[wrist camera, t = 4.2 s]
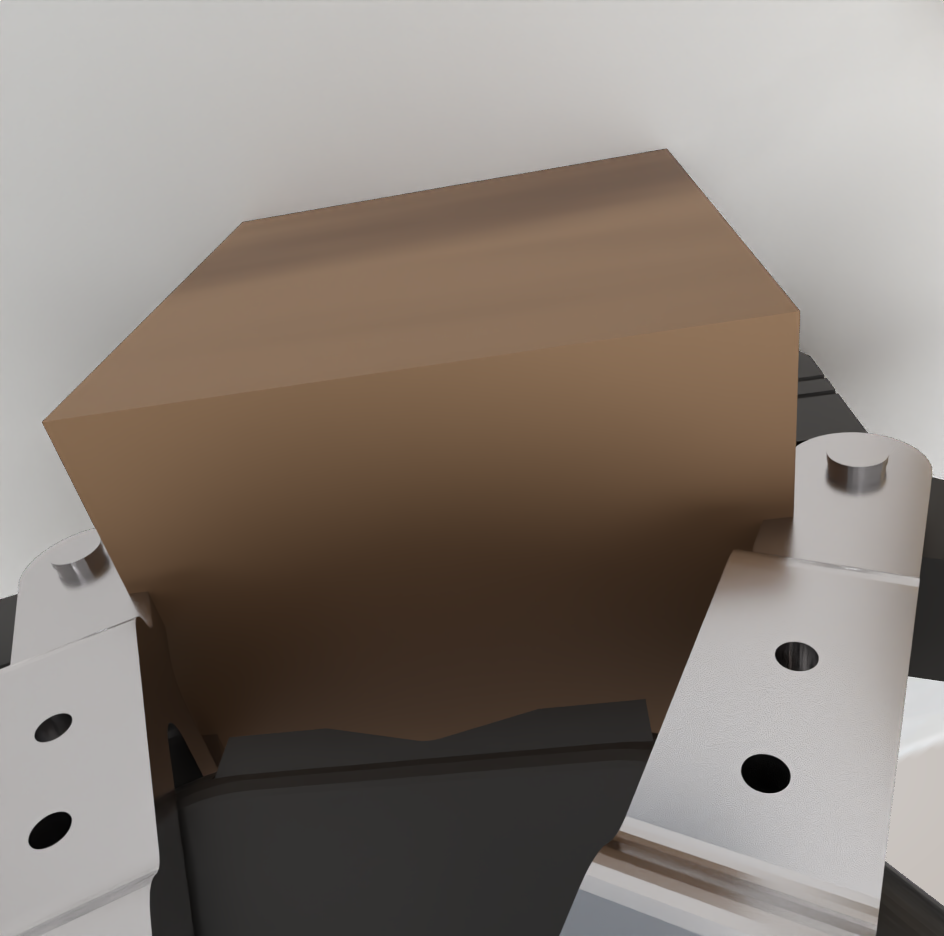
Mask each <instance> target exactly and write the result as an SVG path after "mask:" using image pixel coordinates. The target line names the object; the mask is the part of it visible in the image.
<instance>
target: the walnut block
mask: <svg viewBox="0 0 944 936" xmlns="http://www.w3.org/2000/svg"><path fill="white" fill-rule="evenodd" d="M799 327H800V311H799V309H798V308H797V307H796V306H795V304H794V303H793V302H792V301H791V300H790V298H789V297H788V296H787V295H786V293H785V292H784V291H783V290H782V289H781V287H780V286H779V285H778V284H777V282H776V281H775V280H774V279H773V278H772V276H771V275H770V274H769V273H768V271H767V270H766V269H765V268H764V267H763V265H762V264H761V263H760V262H759V260H758V259H757V258H756V257H755V256H754V254H753V253H752V252H751V251H750V249H749V248H748V247H747V246H746V245H745V243H744V242H743V241H742V240H741V238H740V237H739V236H738V235H737V234H736V232H735V231H734V230H733V229H732V227H731V226H730V225H729V224H728V223H727V221H726V220H725V219H724V218H723V216H722V215H721V214H720V213H719V212H718V210H717V209H716V208H715V207H714V206H713V204H712V203H711V202H710V201H709V199H708V198H707V197H706V196H705V195H704V193H703V192H702V191H701V190H700V188H699V187H698V186H697V185H696V184H695V182H694V181H693V180H692V179H691V177H690V176H689V175H688V174H687V173H686V171H685V170H684V169H683V168H682V166H681V165H680V164H679V163H678V162H677V160H676V159H675V158H674V157H673V155H672V154H671V153H670V152H669V151H668V149H662V150H656V151H651V152H645V153H639V154H633V155H627V156H622V157H616V158H610V159H604V160H599V161H593V162H587V163H581V164H575V165H570V166H564V167H558V168H552V169H547V170H541V171H535V172H529V173H523V174H518V175H512V176H506V177H500V178H495V179H489V180H483V181H477V182H471V183H466V184H460V185H454V186H448V187H443V188H437V189H431V190H425V191H419V192H414V193H408V194H402V195H396V196H391V197H385V198H379V199H373V200H367V201H362V202H356V203H350V204H344V205H339V206H333V207H327V208H321V209H315V210H310V211H304V212H298V213H292V214H287V215H281V216H275V217H269V218H263V219H258V220H252V221H246V222H242V223H241V224H240V225H239V226H238V227H237V228H236V229H235V230H234V231H233V232H232V233H231V234H230V235H229V236H228V237H227V238H226V239H225V240H224V241H223V242H222V243H221V244H220V245H219V246H218V247H217V248H216V249H215V250H214V251H213V252H212V253H211V254H210V255H209V256H208V257H207V258H206V259H205V260H204V261H203V262H202V263H201V264H200V265H199V266H198V267H197V268H196V269H195V270H194V271H193V272H192V273H191V274H190V275H189V276H188V277H187V278H186V279H185V280H184V281H183V282H182V283H181V284H180V285H179V286H178V287H177V288H176V289H175V290H174V291H173V292H172V293H171V294H170V295H169V296H168V297H167V298H166V299H165V300H164V301H163V302H162V303H161V304H160V305H159V306H158V307H157V308H156V309H155V310H154V311H153V312H152V313H151V314H150V315H149V316H148V317H147V318H146V319H145V320H144V321H143V322H142V323H141V324H140V325H139V326H138V327H137V328H136V329H135V330H134V331H133V332H132V333H131V334H130V335H129V336H128V337H127V338H126V339H125V340H124V341H123V342H122V343H121V344H120V345H119V346H118V347H117V348H116V349H115V350H114V351H113V352H112V353H111V354H110V355H109V356H108V357H107V358H106V359H105V360H104V361H103V362H102V363H101V364H100V365H99V366H98V367H97V368H96V369H95V370H94V371H93V372H92V373H91V374H90V375H89V376H88V377H87V378H86V379H85V380H84V381H83V382H82V383H81V384H80V385H79V386H78V387H77V388H76V389H75V390H74V391H73V392H72V393H71V394H70V395H69V396H68V397H67V398H66V399H65V400H64V401H63V402H62V403H61V404H60V405H59V406H58V407H57V408H56V409H55V410H54V411H53V412H52V413H51V414H50V415H49V416H48V417H47V418H46V419H44V420H43V421H42V423H43V425H44V427H45V429H46V431H47V433H48V435H49V437H50V439H51V441H52V443H53V445H54V447H55V449H56V451H57V453H58V455H59V457H60V459H61V461H62V463H63V465H64V467H65V469H66V471H67V473H68V475H69V477H70V479H71V481H72V483H73V485H74V487H75V489H76V491H77V493H78V495H79V497H80V499H81V501H82V503H83V505H84V507H85V509H86V511H87V513H88V515H89V517H90V519H91V521H92V523H93V525H94V527H95V529H96V531H97V532H98V534H99V536H100V538H101V540H102V542H103V544H104V546H105V548H106V550H107V552H108V554H109V556H110V558H111V560H112V562H113V564H114V566H115V568H116V570H117V572H118V574H119V576H120V578H121V580H122V582H123V584H124V586H125V588H126V590H127V592H128V594H130V593H138V592H147V591H148V592H149V594H150V596H151V598H152V600H153V602H154V605H155V607H156V609H157V611H158V613H159V615H160V617H161V619H162V621H163V623H164V625H165V627H166V633H167V640H168V646H169V652H170V659H171V664H172V668H173V671H174V675H175V678H176V681H177V684H178V687H179V689H180V692H181V694H182V697H183V699H184V701H185V703H186V706H187V708H188V710H189V712H190V714H191V716H192V718H193V720H194V722H195V724H196V726H197V728H198V730H199V732H200V734H201V735H211V734H218V736H219V739H220V741H221V743H222V745H223V747H224V749H225V748H226V745H227V742H228V739H229V737H237V736H248V735H259V734H270V733H281V732H292V731H303V730H313V729H324V728H328V729H336V730H343V731H350V732H358V733H365V734H373V735H380V736H387V737H395V738H402V739H410V740H417V741H430V740H436V739H440V738H443V737H447V736H450V735H453V734H457V733H460V732H463V731H467V730H470V729H473V728H477V727H480V726H483V725H487V724H490V723H493V722H496V721H500V720H503V719H506V718H510V717H513V716H516V715H520V714H523V713H526V712H530V711H533V710H536V709H542V708H553V707H564V706H575V705H586V704H597V703H608V702H618V701H629V700H640V699H646V704H647V710H648V715H649V721H650V726H651V732H652V733H659V732H660V729H661V727H662V724H663V722H664V719H665V717H666V714H667V712H668V709H669V707H670V704H671V702H672V699H673V697H674V694H675V692H676V689H677V687H678V684H679V682H680V679H681V676H682V674H683V671H684V669H685V666H686V664H687V661H688V659H689V656H690V654H691V651H692V649H693V646H694V644H695V641H696V639H697V636H698V634H699V631H700V629H701V626H702V624H703V621H704V619H705V616H706V614H707V611H708V609H709V606H710V604H711V601H712V599H713V596H714V594H715V591H716V589H717V586H718V584H719V581H720V579H721V576H722V574H723V571H724V569H725V566H726V564H727V561H728V559H729V557H730V555H731V554H732V552H733V551H734V550H735V549H741V550H747V551H752V549H753V546H754V544H755V541H756V538H757V536H758V533H759V530H760V527H761V525H762V522H763V520H767V519H776V518H784V517H793V516H794V491H795V458H796V425H797V393H798V360H799Z"/></svg>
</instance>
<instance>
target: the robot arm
mask: <svg viewBox="0 0 944 936" xmlns="http://www.w3.org/2000/svg"><path fill="white" fill-rule="evenodd" d="M908 676H910V677H917V678H924V679H931V680H938V681H944V480H941V479H937V478H933V477H932V466H931V464H930V462H929V460H928V459H927V458H926V456H925V455H924V454H923V453H921V452H920V451H919V450H918V449H916V448H914V447H913V446H911V445H909V444H907V443H905V442H902V441H900V440H897V439H894V438H891V437H887V436H882V435H877V434H870V433H867V431H866V430H865V429H864V427H863V426H862V425H861V423H860V422H859V421H858V419H857V418H856V417H855V415H854V414H853V413H852V411H851V410H850V409H849V407H848V406H847V405H846V403H845V402H844V401H843V399H842V398H841V397H840V395H839V394H838V393H837V394H836V393H835V389H834V387H833V386H832V385H831V383H830V382H829V381H828V379H827V378H824V374H823V373H822V371H821V370H820V369H819V367H818V366H817V365H816V363H815V362H814V361H813V359H812V358H811V357H810V356H808V355H806V354H804V353H802V352H800V351H799V360H798V393H797V425H796V458H795V491H794V516H793V517H784V518H776V519H767V520H763V522H762V525H761V527H760V530H759V533H758V536H757V538H756V541H755V544H754V546H753V549H752V551H747V550H741V549H735V550H734V551H733V552H732V554H731V555H730V557H729V559H728V561H727V564H726V566H725V569H724V571H723V574H722V576H721V579H720V581H719V584H718V586H717V589H716V591H715V594H714V596H713V599H712V601H711V604H710V606H709V609H708V611H707V614H706V616H705V619H704V621H703V624H702V626H701V629H700V631H699V634H698V636H697V639H696V641H695V644H694V646H693V649H692V651H691V654H690V656H689V659H688V661H687V664H686V666H685V669H684V671H683V674H682V676H681V679H680V682H679V684H678V687H677V689H676V692H675V694H674V697H673V699H672V702H671V704H670V707H669V709H668V712H667V714H666V717H665V719H664V722H663V724H662V727H661V729H660V732H659V733H652V732H651V726H650V721H649V715H648V710H647V704H646V699H640V700H629V701H618V702H608V703H597V704H586V705H575V706H564V707H553V708H542V709H536V710H533V711H530V712H526V713H523V714H520V715H516V716H513V717H510V718H506V719H503V720H500V721H496V722H493V723H490V724H487V725H483V726H480V727H477V728H473V729H470V730H467V731H463V732H460V733H457V734H453V735H450V736H447V737H443V738H440V739H436V740H430V741H417V740H410V739H402V738H395V737H387V736H380V735H373V734H365V733H358V732H350V731H343V730H336V729H328V728H324V729H313V730H303V731H292V732H281V733H270V734H259V735H248V736H237V737H229V739H228V742H227V745H226V748H225V749H224V747H223V745H222V743H221V741H220V739H219V736H218V734H211V735H201V734H200V732H199V730H198V728H197V726H196V724H195V722H194V720H193V718H192V716H191V714H190V712H189V710H188V708H187V706H186V703H185V701H184V699H183V697H182V694H181V692H180V689H179V687H178V684H177V681H176V678H175V675H174V671H173V668H172V664H171V659H170V652H169V646H168V640H167V633H166V627H165V625H164V623H163V621H162V619H161V617H160V615H159V613H158V611H157V609H156V607H155V605H154V602H153V600H152V598H151V596H150V594H149V592H148V591H147V592H138V593H130V594H128V592H127V590H126V588H125V586H124V584H123V582H122V580H121V578H120V576H119V574H118V572H117V570H116V568H115V566H114V564H113V562H112V560H111V558H110V556H109V554H108V552H107V550H106V548H105V546H104V544H103V542H102V540H101V538H100V536H99V534H98V532H97V531H96V529H95V528H93V529H89V530H86V531H83V532H80V533H77V534H75V535H72V536H70V537H68V538H66V539H64V540H61V541H60V542H58V543H56V544H54V545H53V546H51V547H49V548H48V549H47V550H45V551H44V552H42V553H41V554H40V555H39V556H37V557H36V558H35V559H34V560H33V561H32V562H31V563H30V564H29V565H28V566H27V568H26V569H25V570H24V572H23V573H22V575H21V577H20V581H19V587H18V594H16V595H13V596H10V597H7V598H4V599H0V936H944V906H943V905H942V904H940V903H939V902H938V901H936V900H935V899H934V898H933V897H931V896H930V895H928V894H927V893H926V892H925V891H923V890H922V889H921V888H919V887H918V886H917V885H916V884H914V883H913V882H912V881H910V880H909V879H908V878H906V877H905V876H904V875H903V874H901V873H900V872H899V871H897V870H896V869H895V868H893V867H892V866H891V865H889V864H888V863H887V862H886V861H885V857H886V849H887V841H888V833H889V824H890V816H891V808H892V800H893V792H894V784H895V776H896V768H897V760H898V752H899V744H900V736H901V728H902V719H903V711H904V703H905V695H906V687H907V679H908Z"/></svg>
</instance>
